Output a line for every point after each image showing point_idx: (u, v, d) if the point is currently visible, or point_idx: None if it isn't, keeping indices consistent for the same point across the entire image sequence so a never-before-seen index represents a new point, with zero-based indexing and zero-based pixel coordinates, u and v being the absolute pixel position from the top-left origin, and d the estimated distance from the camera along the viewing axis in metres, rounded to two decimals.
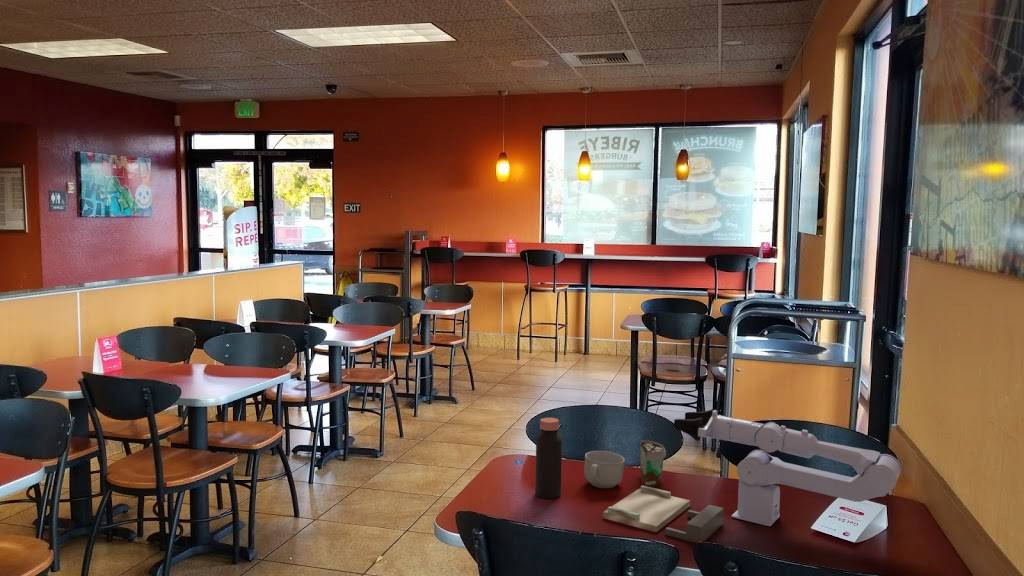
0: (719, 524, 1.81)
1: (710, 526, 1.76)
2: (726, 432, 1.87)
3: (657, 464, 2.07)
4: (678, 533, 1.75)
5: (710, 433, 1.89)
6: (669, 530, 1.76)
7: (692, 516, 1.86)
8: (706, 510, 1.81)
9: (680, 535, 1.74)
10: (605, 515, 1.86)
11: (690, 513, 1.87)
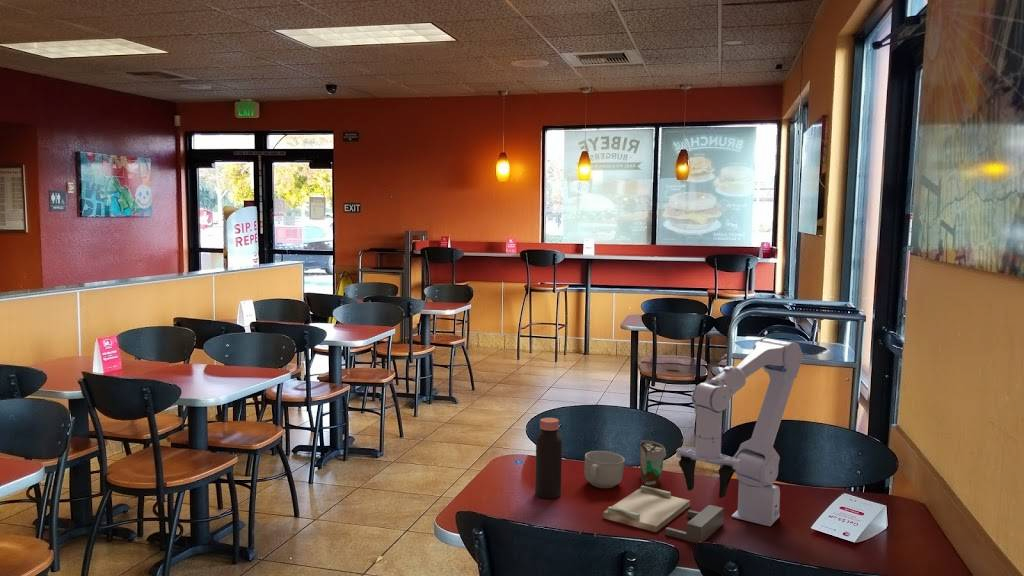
0: (719, 524, 1.81)
1: (710, 526, 1.76)
2: (720, 440, 1.75)
3: (657, 464, 2.07)
4: (678, 533, 1.75)
5: (721, 456, 1.76)
6: (669, 530, 1.76)
7: (692, 516, 1.86)
8: (706, 510, 1.81)
9: (680, 535, 1.74)
10: (605, 515, 1.86)
11: (690, 513, 1.87)
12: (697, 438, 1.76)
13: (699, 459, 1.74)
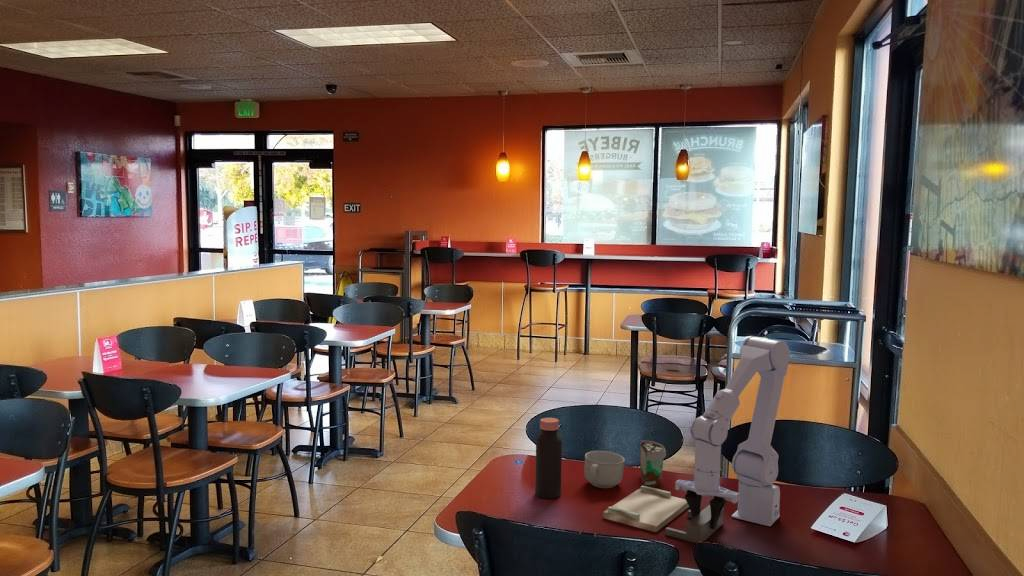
0: (719, 524, 1.81)
1: (710, 526, 1.76)
2: (719, 473, 1.75)
3: (657, 464, 2.07)
4: (678, 533, 1.75)
5: (720, 489, 1.77)
6: (669, 530, 1.76)
7: None
8: (706, 510, 1.81)
9: (680, 535, 1.74)
10: (605, 515, 1.86)
11: (690, 513, 1.87)
12: (696, 471, 1.76)
13: (698, 492, 1.74)
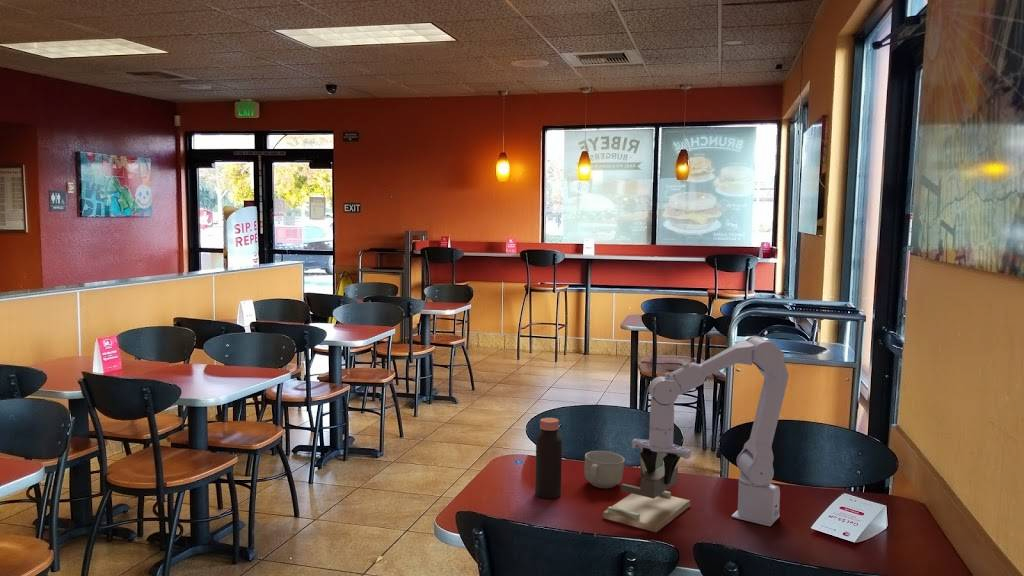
0: (673, 481, 1.90)
1: (663, 482, 1.84)
2: (672, 431, 1.84)
3: (657, 464, 2.07)
4: (633, 488, 1.83)
5: (673, 446, 1.85)
6: (625, 486, 1.84)
7: None
8: (661, 468, 1.90)
9: (635, 491, 1.83)
10: (605, 515, 1.86)
11: None
12: (650, 429, 1.85)
13: (652, 449, 1.83)
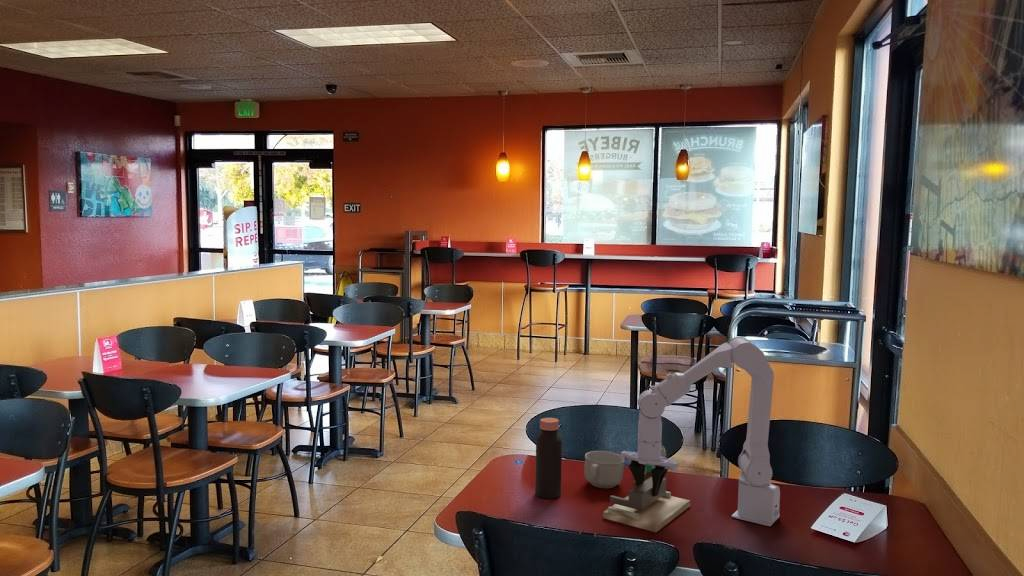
0: (662, 493, 1.93)
1: (651, 494, 1.87)
2: (660, 444, 1.87)
3: None
4: (621, 500, 1.86)
5: (661, 459, 1.88)
6: (613, 498, 1.87)
7: None
8: (649, 480, 1.92)
9: (623, 503, 1.86)
10: (605, 515, 1.86)
11: None
12: (639, 442, 1.88)
13: (640, 462, 1.86)
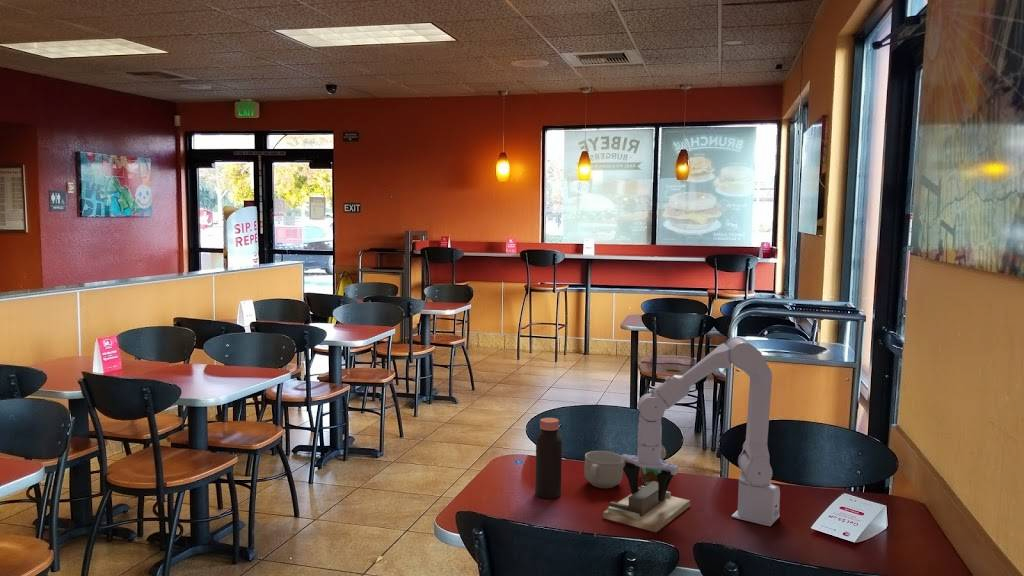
0: None
1: (651, 500, 1.88)
2: (660, 447, 1.87)
3: None
4: (621, 506, 1.86)
5: (661, 462, 1.88)
6: (613, 504, 1.87)
7: None
8: (649, 486, 1.93)
9: (623, 509, 1.86)
10: (605, 515, 1.86)
11: None
12: (638, 445, 1.88)
13: (640, 465, 1.86)
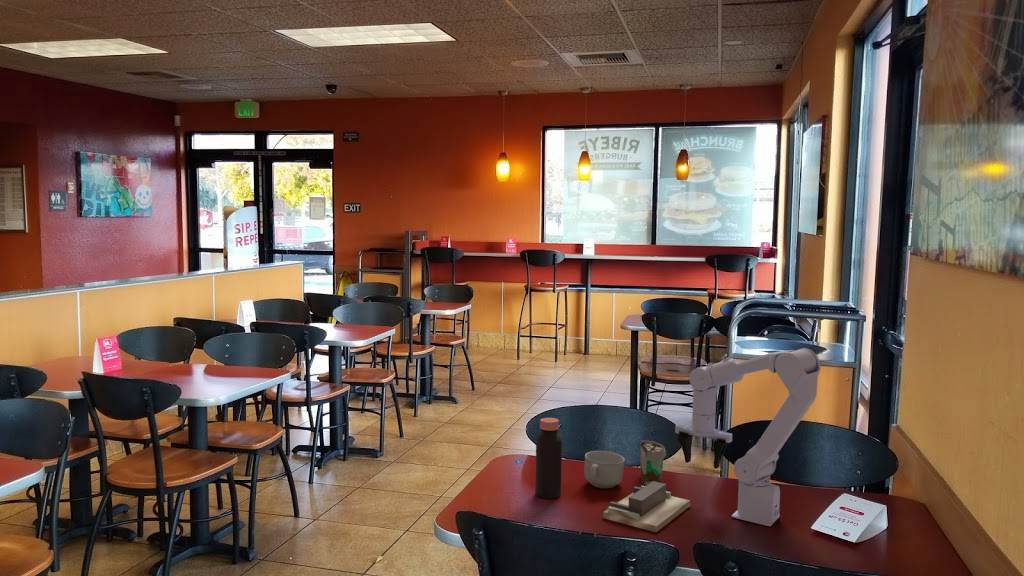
0: (662, 499, 1.93)
1: (651, 500, 1.88)
2: (714, 417, 1.95)
3: (657, 464, 2.07)
4: (621, 506, 1.86)
5: (715, 431, 1.96)
6: (613, 504, 1.87)
7: None
8: (649, 486, 1.93)
9: (623, 509, 1.86)
10: (605, 515, 1.86)
11: (636, 489, 1.98)
12: (694, 415, 1.96)
13: (696, 434, 1.94)
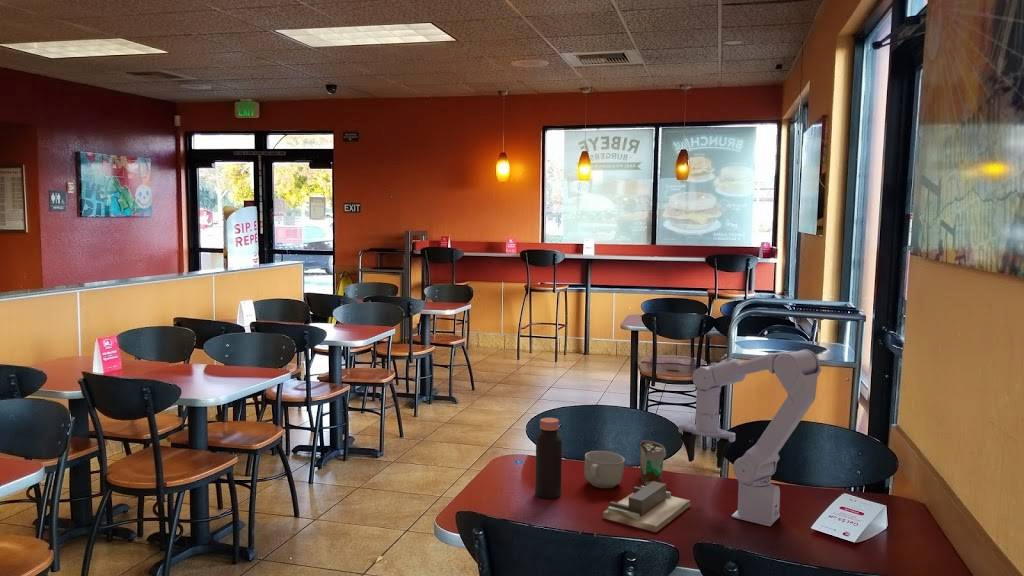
0: (662, 499, 1.93)
1: (651, 500, 1.88)
2: (718, 416, 1.96)
3: (657, 464, 2.07)
4: (621, 506, 1.86)
5: (718, 430, 1.97)
6: (613, 504, 1.87)
7: None
8: (649, 486, 1.93)
9: (623, 509, 1.86)
10: (605, 515, 1.86)
11: (636, 489, 1.98)
12: (697, 414, 1.96)
13: (699, 433, 1.95)
